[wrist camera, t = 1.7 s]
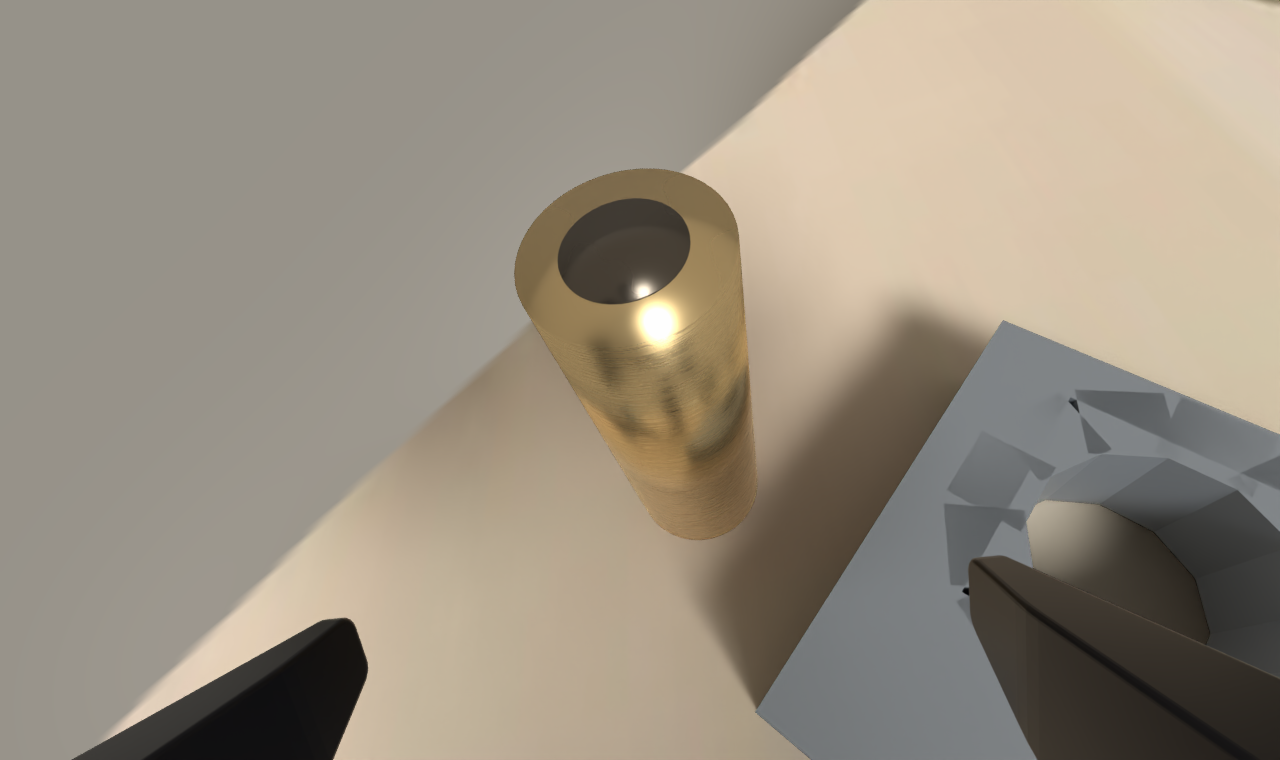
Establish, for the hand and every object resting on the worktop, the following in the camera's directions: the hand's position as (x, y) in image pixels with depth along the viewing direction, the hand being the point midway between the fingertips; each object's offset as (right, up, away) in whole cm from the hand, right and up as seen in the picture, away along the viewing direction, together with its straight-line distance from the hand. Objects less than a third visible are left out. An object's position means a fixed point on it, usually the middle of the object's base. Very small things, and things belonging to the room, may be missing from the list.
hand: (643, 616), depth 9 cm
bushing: (+2, 0, +14) cm, 14 cm away
